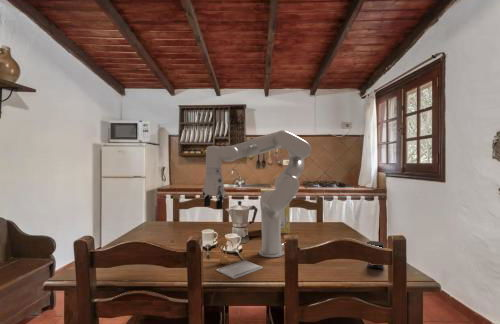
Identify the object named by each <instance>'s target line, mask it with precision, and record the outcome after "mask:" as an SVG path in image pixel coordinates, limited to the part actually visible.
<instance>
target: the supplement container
mask: <svg viewBox="0 0 500 324" xmlns="http://www.w3.org/2000/svg"><path fill="white" fill-rule="evenodd" d="M367 244H371V245H375V246H379V247H382V248H384V249H385V245H384V242H382V241H375V240H369V241H366V245H367ZM366 265H367V267H368V268H369V269H372V270H383V269H384V267H385V264H384V265H372V264H369V263H366Z"/></svg>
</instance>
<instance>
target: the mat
mask: <svg viewBox="0 0 500 324" xmlns="http://www.w3.org/2000/svg"><path fill="white" fill-rule="evenodd" d="M263 268H264V267H263V266H261V265H258V264H256V263H253V262H251V261H248V260H241V261H238V262H235V263H232V264H229V265H225V266H223V267H219V268H216V271H217V272H219V273H221V274H223V275H225V276H227V277H230V278H232V279H234V280H235V279H238V278H240V277H244V276H246V275H248V274H252V273H254V272H258V271H259V270H263Z"/></svg>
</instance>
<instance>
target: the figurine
mask: <svg viewBox="0 0 500 324" xmlns="http://www.w3.org/2000/svg"><path fill="white" fill-rule="evenodd" d="M220 242H222V243H223V244H221V252H222V253H221V255H220V256H219V263H221V264H222V265H227V263H228V262H229V257H228V256H227V252H228V244H227V243H228V242H230V244H231V246H232V247H231V248H232V249H233V248H234V244H233V241H232V240H231V239H229V238H227V237H226V236H223V238H221V239H219V240H218V241H217V243H216V245H215V247H218V246H217V245H218V244H219V243H220ZM224 249H225V253H224Z"/></svg>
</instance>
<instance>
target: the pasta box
mask: <svg viewBox="0 0 500 324" xmlns="http://www.w3.org/2000/svg"><path fill="white" fill-rule="evenodd" d="M275 189H276V188H260V197H261V196H262V194H263V193H264V192H266V191H274V190H275ZM260 218H261V227H260V228H261V230H262V216H261V215H260ZM280 220H281V223H280V224H281V234H290V233H291V232H290V231H291V229H290V227H291V225H290V224H291V223H290V203H289V204H288V205H287V206H286V208H285V209H284V210H283V211H281V212H280Z"/></svg>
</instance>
